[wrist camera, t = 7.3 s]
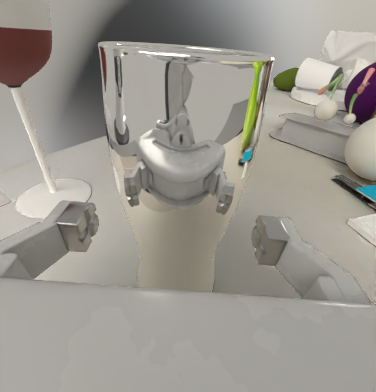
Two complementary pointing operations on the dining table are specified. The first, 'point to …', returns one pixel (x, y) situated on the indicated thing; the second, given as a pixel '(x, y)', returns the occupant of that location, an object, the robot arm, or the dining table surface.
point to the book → (314, 135)
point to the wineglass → (14, 77)
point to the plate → (318, 96)
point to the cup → (316, 74)
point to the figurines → (360, 139)
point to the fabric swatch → (349, 53)
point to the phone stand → (370, 224)
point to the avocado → (286, 79)
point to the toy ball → (362, 95)
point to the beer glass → (181, 149)
